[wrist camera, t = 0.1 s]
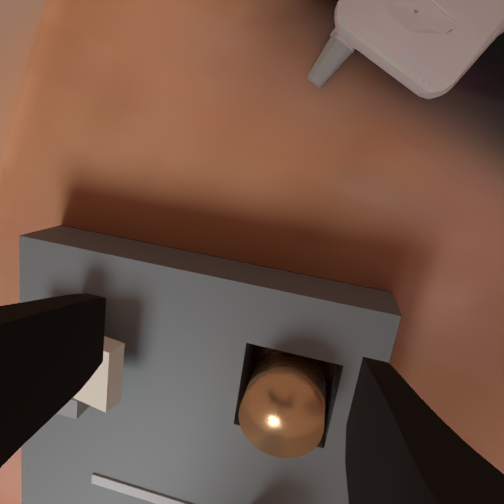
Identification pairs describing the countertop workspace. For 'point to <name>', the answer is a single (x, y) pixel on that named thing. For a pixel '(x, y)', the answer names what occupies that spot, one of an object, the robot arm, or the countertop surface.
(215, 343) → the panel
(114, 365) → the rocker switch
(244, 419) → the push button
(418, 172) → the countertop surface
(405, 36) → the white long dark-ended device
